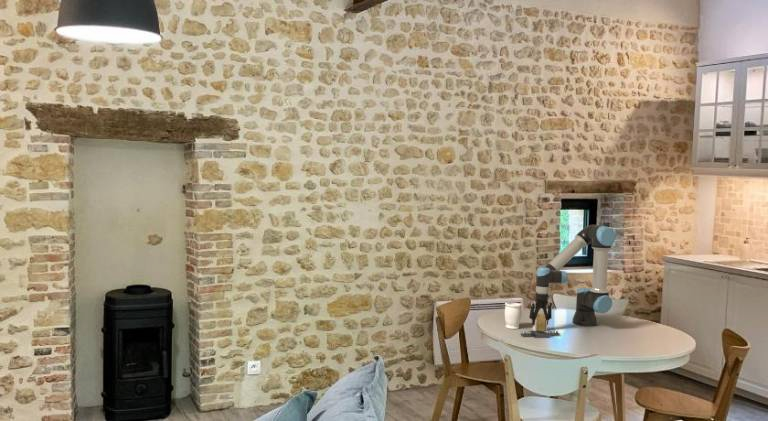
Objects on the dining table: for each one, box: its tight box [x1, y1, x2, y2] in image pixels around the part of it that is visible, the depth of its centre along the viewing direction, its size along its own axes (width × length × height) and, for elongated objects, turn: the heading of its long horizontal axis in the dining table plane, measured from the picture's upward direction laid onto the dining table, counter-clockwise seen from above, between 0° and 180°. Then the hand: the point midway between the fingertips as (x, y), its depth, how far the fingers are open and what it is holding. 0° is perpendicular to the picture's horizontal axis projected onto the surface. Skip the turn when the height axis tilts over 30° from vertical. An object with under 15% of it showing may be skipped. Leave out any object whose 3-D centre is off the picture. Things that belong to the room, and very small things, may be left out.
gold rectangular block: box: [536, 313, 545, 332], centre depth 409 cm, size 4×4×10 cm
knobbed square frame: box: [520, 330, 560, 339], centre depth 396 cm, size 24×9×2 cm, turn 106°
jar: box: [504, 301, 523, 330], centre depth 414 cm, size 11×10×15 cm
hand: (539, 330), depth 410 cm, fingers open, 6 cm apart
